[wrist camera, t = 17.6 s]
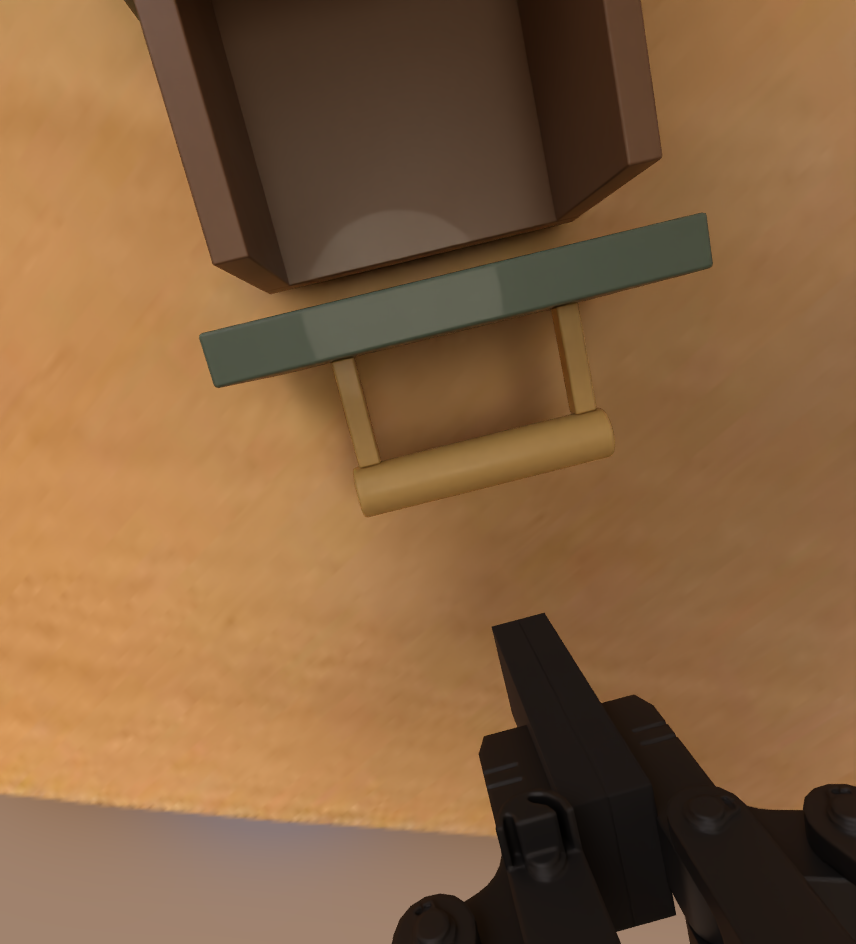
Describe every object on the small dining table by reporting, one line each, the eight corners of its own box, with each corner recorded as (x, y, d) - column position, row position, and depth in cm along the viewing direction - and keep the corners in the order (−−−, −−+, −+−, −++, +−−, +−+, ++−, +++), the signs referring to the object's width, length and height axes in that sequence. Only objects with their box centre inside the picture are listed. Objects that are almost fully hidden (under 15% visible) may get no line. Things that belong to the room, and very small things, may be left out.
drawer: (624, 420, 21) (738, 451, 14) (307, 499, 20) (270, 569, 14) (517, -221, 17) (604, -599, 10) (123, -133, 16) (-53, -461, 10)
